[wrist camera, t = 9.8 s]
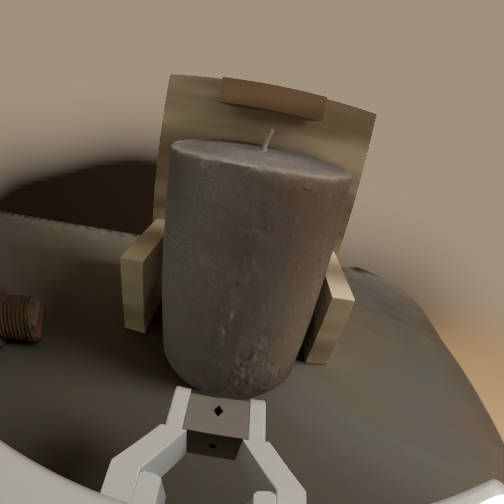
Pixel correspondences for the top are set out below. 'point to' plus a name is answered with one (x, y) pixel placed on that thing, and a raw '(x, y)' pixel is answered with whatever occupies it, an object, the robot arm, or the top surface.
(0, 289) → the bolt
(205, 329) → the pillar candle
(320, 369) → the top surface
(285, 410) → the top surface
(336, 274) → the cradle
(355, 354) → the top surface
